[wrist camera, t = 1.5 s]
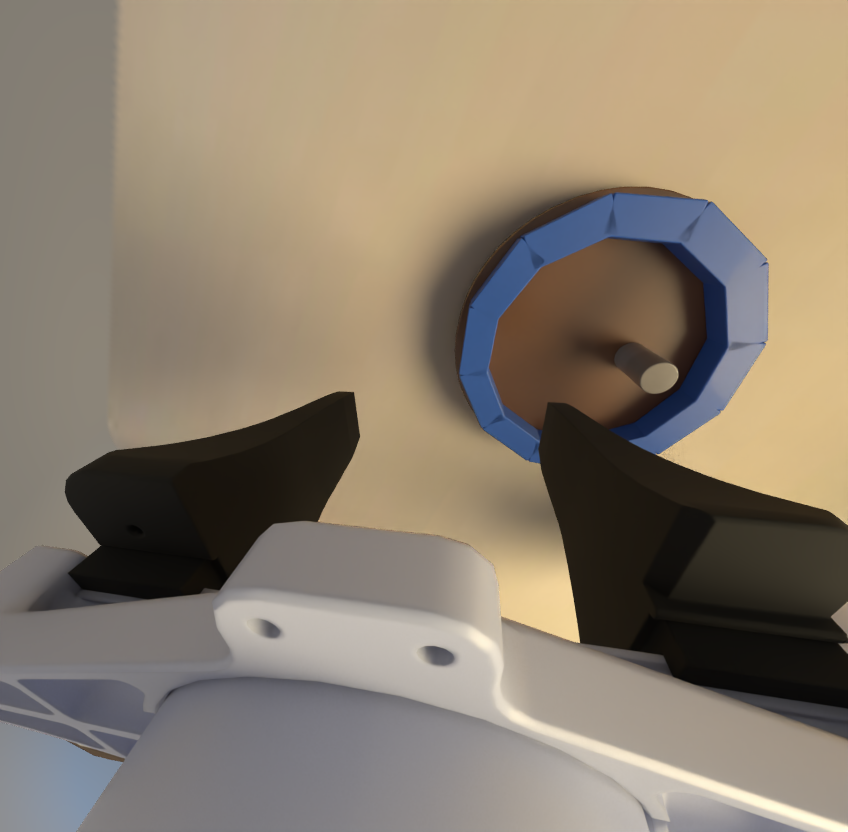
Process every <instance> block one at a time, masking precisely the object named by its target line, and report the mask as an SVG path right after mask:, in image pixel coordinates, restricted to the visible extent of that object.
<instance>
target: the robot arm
mask: <svg viewBox="0 0 848 832" xmlns="http://www.w3.org/2000/svg"><path fill="white" fill-rule="evenodd" d="M359 438H360V433H359V426H358V418H357V411H356V404H355V396H354V392H340V391H339V392H335V393H332V394H329V395H327V396H324V397H322V398H320V399H318V400H315V401H313V402H311V403H309V404H306V405H304V406H302V407H300V408H297V409H295V410H293V411H290V412H288V413H285V414H283V415H280V416H278V417H275V418H273V419H270V420H268V421H265V422H262V423H259V424H256V425H252V426H249V427H246V428H243V429H239V430H235V431H231V432H227V433H223V434H219V435H215V436H211V437H206V438H201V439H196V440H191V441H185V442H179V443H173V444H166V445H159V446H150V447H142V448H133V449H124V450H115V451H112V452H109V453H107V454H105V455H103V456H102V457H100V458H98V459H96V460H95V461H93V462H91V463H89V464H88V465H86V466H84V467H83V468H81V469H79V470H77V471H76V472H74V473H72V474H71V475H70V476H69V477H68V479H67V480H66V486H65V494H66V497H67V501H68V503H69V504H70V506H71V507H72V509H73V510H74V512H75V513H76V515H77V516H78V517H79V519H80V520H81V521H82V522H83V523H84V525H85V526H86V528H87V529H88V530H89V531H90V533H91V534H92V535H93V537H94V538H95V539H96V540H97V541H98V543H99V544H100V545H101V546H100V547H99V548H98V549H97V550H95V551H94V552H93V553H92V554H91V555H89V556H87V555H85V554H83V553H81V552H79V551H76V550H72V549H64V548H57V547H50V546H35V547H34V548H33V549H31V550H30V551H28V552H27V553H25V554H24V555H22V556H21V557H20V558H18V559H17V560H15V561H14V562H12V563H11V564H10V565H8V566H7V567H5V568H4V569H2V570H1V571H0V722H2V723H6V724H10V725H14V726H18V727H21V728H25V729H28V730H32V731H36V732H39V733H43V734H46V735H50V736H53V737H56V738H60V739H63V740H66V741H70V742H73V743H76V744H80V745H83V746H86V747H89V748H92V749H96V750H99V751H102V752H105V753H108V754H112V755H115V756H118V757H121V758H124V759H125V760H124V762H123V764H122V765H121V766H120V768H119V769H118V771H117V772H116V774H115V775H114V777H113V778H112V779H111V781H110V783H109V784H108V785H107V787H106V788H105V790H104V791H103V793H102V794H101V796H100V797H99V799H98V800H97V802H96V803H95V805H94V806H93V808H92V809H91V811H90V812H89V813H88V815H87V817H86V818H85V819H84V821H83V822H82V824H81V825H80V827H79V828H78V830H77V831H76V832H848V525H847V524H845V523H844V522H843V521H841V520H840V519H839V518H837V517H836V516H835V515H833V514H832V513H830V512H829V511H826V510H823V509H819V508H815V507H811V506H807V505H804V504H800V503H796V502H792V501H788V500H785V499H781V498H777V497H773V496H769V495H766V494H762V493H759V492H755V491H752V490H749V489H746V488H742V487H739V486H736V485H733V484H730V483H726V482H723V481H721V480H718V479H715V478H712V477H709V476H706V475H703V474H701V473H698V472H696V471H693V470H690V469H688V468H685V467H683V466H680V465H678V464H675V463H673V462H671V461H668V460H666V459H664V458H662V457H659V456H657V455H655V454H653V453H651V452H649V451H647V450H645V449H643V448H641V447H639V446H637V445H635V444H633V443H631V442H629V441H628V440H626V439H624V438H622V437H621V436H619V435H617V434H615V433H614V432H612V431H610V430H609V429H607V428H605V427H604V426H602V425H601V424H599V423H598V422H596V421H595V420H593V419H591V418H590V417H588V416H587V415H585V414H584V413H582V412H581V411H579V410H578V409H576V408H574V407H573V406H571V405H569V404H567V403H556V402H548V404H547V409H546V414H545V419H544V424H543V428H542V433H541V438H540V443H539V448H538V451H539V458H540V464H541V470H542V474H543V477H544V481H545V484H546V487H547V490H548V493H549V496H550V499H551V502H552V505H553V508H554V511H555V514H556V517H557V520H558V523H559V527H560V531H561V534H562V539H563V544H564V549H565V554H566V559H567V564H568V569H569V575H570V580H571V586H572V591H573V598H574V604H575V610H576V617H577V623H578V630H579V637H580V643H576V642H572V641H569V640H566V639H564V638H561V637H558V636H555V635H552V634H549V633H547V632H544V631H541V630H538V629H535V628H533V627H530V626H527V625H524V624H521V623H518V622H516V621H513V620H510V619H507V618H504V617H501V611H500V596H499V584H498V581H497V577H496V573H495V569H494V565H493V564H492V563H491V562H489V561H488V560H487V559H486V558H485V557H483V556H482V555H481V554H480V553H479V552H477V551H476V550H475V549H474V548H472V547H471V546H470V545H468V544H466V543H462V542H459V541H455V540H452V539H449V538H445V537H442V536H439V535H430V534H421V533H412V532H403V531H393V530H384V529H375V528H366V527H357V526H348V525H339V524H330V523H320V522H318V520H319V518H320V515H321V513H322V511H323V509H324V507H325V505H326V503H327V501H328V499H329V497H330V496H331V494H332V492H333V490H334V489H335V487H336V485H337V483H338V482H339V480H340V478H341V477H342V475H343V473H344V471H345V470H346V468H347V466H348V464H349V462H350V461H351V459H352V457H353V454H354V452H355V449H356V447H357V444H358V441H359Z"/></svg>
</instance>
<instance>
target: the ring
mask: <svg viewBox="0 0 848 832" xmlns="http://www.w3.org/2000/svg"><path fill="white" fill-rule="evenodd" d="M606 238H610V239H621V240H631V241H641V242H652V243H662V244H663V245H664V246H665V247H666V248H668V249H669V250H670V251H671V252H672V253H673V254H674V255H675V256H676V257H677V258H678V259H679V260H680V261H681V262H682V263H683V264H684V265H685V266H686V267H687V268H688V269H689V270H690V271H691V272H692V273H693V274H694V275H695V276H696V277H697V278H698V279H699V280H701V281H702V282H703V288H704V302H705V316H706V330H707V339H706V341H705V343H704V345H703V347H702V349H701V350H700V352H699V354H698V356H697V358H696V360H695V361H694V363H693V365H692V367H691V369H690V371H689V372H688V374H687V376H686V378H685V380H684V382H683V383H682V385H681V387H680V389H679V390H677V391H676V392H675V393H673V394H672V395H671V396H669V397H668V398H667V399H665V400H664V401H663V402H661V403H660V404H659V405H657V406H656V407H655V408H653V409H652V410H651V411H649V412H648V413H647V414H645V415H644V416H643V417H641V418H640V419H639V420H637V421H636V422H635V423H631V424H627V425H624V426H620V427H616V428H612V429H609V430H610V431H612V432H614V433H615V434H617V435H619V436H621V437H622V438H624V439H626V440H628V441H629V442H631V443H633V444H635V445H637V446H639V447H641V448H643V449H645V450H647V451H649V452H651V453H653V454H655V455H656V454H660V453H661V452H663V451H664V450H666V449H667V448H669V447H670V446H672V445H673V444H675V443H676V442H678V441H679V440H681V439H682V438H684V437H685V436H687V435H688V434H690V433H691V432H693V431H694V430H696V429H697V428H699V427H700V426H702V425H703V424H705V423H706V422H708V421H709V420H711V419H712V418H714V417H715V416H717V415H718V414H720V411H719V410H724V409H725V407H726V405H727V404H728V402H729V401H730V399H731V398H732V396H733V395H734V393H735V392H736V390H737V388H738V387H739V385H740V384H741V382H742V381H743V379H744V378H745V376H746V375H747V373H748V371H749V370H750V368H751V367H752V365H753V364H754V362H755V361H756V359H757V358H758V356H759V354H760V353H761V351H762V350H763V348H764V347H765V345H766V343H764V342H766V341H767V340H768V263H767V262H766V261H767V259H766V258H765V256H764V255H763V254H762V253H761V252H760V251H759V250H758V249H757V248H756V247H755V246H754V245H753V244H752V243H751V242H750V241H749V240H748V239H747V238H746V237H745V236H744V234H743V233H742V232H741V231H740V230H739V229H738V228H737V227H736V226H735V225H734V224H733V223H732V222H731V221H730V220H729V219H728V218H727V217H726V216H725V215H724V214H723V213H722V211H721V210H720V209H719V208H718V207H717V206H716V205H715V204H714V203H713V202H708V200H704V199H692V198H680V197H668V196H656V195H644V194H632V193H620V192H616V193H613V194H612V193H610V194H607V195H604V196H602V197H599V198H597V199H595V200H593V201H591V202H589V203H587V204H584V205H582V206H580V207H578V208H576V209H574V210H572V211H570V212H568V213H566V214H564V215H562V216H560V217H558V218H556V219H554V220H552V221H550V222H548V223H546V224H544V225H542V226H540V227H538V228H536V229H534V230H532V231H530V232H527V233H525V234H523V235H521V236H520V238H519V239H517V240H516V241H515V242H514V244H513V245H512V246H511V248H510V249H509V250H508V252H507V253H506V254H505V256H504V257H503V258H502V260H501V261H500V262H499V264H498V265H497V266H496V268H495V269H494V270H493V272H492V273H491V274H490V275H489V277H488V278H487V279H486V281H485V282H484V283H483V285H482V286H481V287H480V289H479V290H478V291H477V293H476V294H475V295H474V297H473V298H472V299H471V303H470V304H469V310H468V316H467V323H466V329H465V336H464V343H463V349H462V356H461V362H460V369H459V374H460V376H459V377H460V380H461V382H462V384H463V387H464V389H465V391H466V394H467V396H468V398H469V401H470V403H471V405H472V408H473V410H474V412H475V414H476V417H477V419H478V421H479V424H480V426H481V428H483V430H484V431H486V432H487V433H489V434H490V435H491V436H493V437H494V438H496V439H497V440H498V441H500V442H501V443H503V444H504V445H505V446H507V447H508V448H510V449H511V450H513V451H514V452H515V453H517V454H518V455H520V456H521V457H522V458H524V459H525V460H529V461H530V462H535V463H540V458H539V451H538V448H539V443H540V438H541V433H542V430H537V429H536V428H534V427H533V426H532V425H530V424H529V423H527V422H526V421H525V420H523V419H522V418H521V417H519V416H518V415H517V414H515V413H514V412H513V411H511V410H510V409H509V408H507V407H506V406H505V405H503V403H502V401H501V398H500V395H499V393H498V390H497V388H496V385H495V382H494V380H493V377H492V374H491V372H490V369H489V364H490V359H491V354H492V349H493V344H494V340H495V335H496V330H497V325H498V320H499V318H500V317H501V315H502V314H503V313H504V312H505V311H506V309H507V308H508V307H509V306H510V304H511V303H512V302H513V301H514V300H515V298H516V297H517V296H518V295H519V294H520V292H521V291H522V290H523V289H524V288H525V286H526V285H527V284H528V283H529V282H530V280H531V279H532V278H533V277H534V276H535V274H536V273H537V272H538V271H539V270H540V268H541V267H544V266H546V265H548V264H550V263H552V262H555V261H557V260H559V259H561V258H564V257H566V256H568V255H570V254H572V253H575V252H577V251H579V250H581V249H584V248H586V247H588V246H590V245H593V244H595V243H597V242H599V241H601V240H604V239H606Z"/></svg>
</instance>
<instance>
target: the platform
mask: <svg viewBox="0 0 848 832" xmlns="http://www.w3.org/2000/svg"><path fill="white" fill-rule="evenodd" d="M616 192H620V193H632V194H644V195H656V196H668V197H680V198H691V197H688V196H685V195H682V194H679V193H677V192H674V191H671V190H665V189H658V188H652V187H619V188H612V189H605V190H599V191H596V192H592V193H589V194H585V195H582V196H578V197H576V198H573V199H571V200H569V201H566V202H564V203H562V204H559V205H557V206H555V207H552V208H550V209H549V210H547V211H545V212H543V213H542V214H540V215H538V216H537V217H535V218H533V219H531V220H530V221H529V222H527V223H526V224H525V225H523V226H522V227H521V228H519V229H518V230H517V231H515V232H514V233H513V234H512V235H511V236H510V237H509V238H508V239H507V240H506V241H505V242H503V243H502V244H501V245H500V246H499V247H498V248H497V250H496V251H495V252H494V253H493V254H492V256H491V257H490V258H489V259H488V260H487V262H486V263H485V264H484V266H483V267H482V269H481V271H480V272H479V274H478V275H477V277H476V278H475V280H474V282H473V284H472V286H471V288H470V290H469V292H468V294H467V296H466V299H465V302H464V305H463V308H462V311H461V314H460V318H459V323H458V328H457V333H456V343H455V359H456V369H457V374H458V379H459V382H460V385H461V388H462V391H463V394H464V396H465V398H466V400H467V402H468V404H469V405H470V407H471V409H472V410H473V408H472V405H471V403H470V401H469V398H468V396H467V394H466V391H465V389H464V387H463V384H462V382H461V380H460V377H459V376H460V374H459V369H460V362H461V356H462V349H463V343H464V336H465V329H466V323H467V316H468V310H469V304H470V303H471V299H472V298H473V297H474V295H475V294H476V293H477V291H478V290H479V289H480V287H481V286H482V285H483V283H484V282H485V281H486V279H487V278H488V277H489V275H490V274H491V273H492V272H493V270H494V269H495V268H496V266H497V265H498V264H499V262H500V261H501V260H502V258H503V257H504V256H505V254H506V253H507V252H508V250H509V249H510V248H511V246H512V245H513V244H514V242H515V241H516V240H517V239H519V238H520V236H521V235H523V234H525V233H527V232H530V231H532V230H534V229H536V228H538V227H540V226H542V225H544V224H546V223H548V222H550V221H552V220H554V219H556V218H558V217H560V216H562V215H564V214H566V213H568V212H570V211H572V210H574V209H576V208H578V207H580V206H582V205H584V204H587V203H589V202H591V201H593V200H595V199H597V198H599V197H602V196H604V195H607V194H610V193H612V194H613V193H616ZM692 199H693V198H692ZM706 339H707V330H706V316H705V302H704V288H703V282H702V281H701V280H699V279H698V278H697V277H696V276H695V275H694V274H693V273H692V272H691V271H690V270H689V269H688V268H687V267H686V266H685V265H684V264H683V263H682V262H681V261H680V260H679V259H678V258H677V257H676V256H675V255H674V254H673V253H672V252H671V251H670V250H669V249H668V248H666V247H665V246H664V245H663V244H662V243H652V242H641V241H631V240H621V239H610V238H606V239H604V240H601V241H599V242H597V243H595V244H593V245H590V246H588V247H586V248H584V249H581V250H579V251H577V252H575V253H572V254H570V255H568V256H566V257H564V258H561V259H559V260H557V261H555V262H552V263H550V264H548V265H546V266H544V267H541V268H540V270H539V271H538V272H537V273H536V274H535V276H534V277H533V278H532V279H531V280H530V282H529V283H528V284H527V285H526V286H525V288H524V289H523V290H522V291H521V292H520V294H519V295H518V296H517V297H516V298H515V300H514V301H513V302H512V303H511V304H510V306H509V307H508V308H507V309H506V311H505V312H504V313H503V314H502V315H501V317H500V318H499V320H498V325H497V330H496V335H495V340H494V344H493V349H492V354H491V359H490V364H489V369H490V372H491V374H492V377H493V380H494V382H495V385H496V388H497V390H498V393H499V395H500V398H501V401H502V403H503V405H505V406H506V407H507V408H509V409H510V410H511V411H513V412H514V413H515V414H517V415H518V416H519V417H521V418H522V419H523V420H525V421H526V422H527V423H529V424H530V425H532V426H533V427H534V428H536V429H537V430H542V428H543V424H544V419H545V414H546V409H547V404H548V402H556V403H567V404H569V405H571V406H573V407H574V408H576V409H578V410H579V411H581V412H582V413H584V414H585V415H587V416H588V417H590V418H591V419H593V420H595V421H596V422H598V423H599V424H601V425H602V426H604V427H605V428H607V429H612V428H616V427H620V426H624V425H627V424H631V423H635V422H636V421H637V420H639V419H640V418H641V417H643V416H644V415H645V414H647V413H648V412H649V411H651V410H652V409H653V408H655V407H656V406H657V405H659V404H660V403H661V402H663V401H664V400H665V399H667V398H668V397H669V396H671V395H672V394H673V393H675V392H676V391H677V390H679V389H680V387H681V385H682V383H683V382H684V380H685V378H686V376H687V374H688V372H689V371H690V369H691V367H692V365H693V363H694V361H695V360H696V358H697V356H698V354H699V352H700V350H701V349H702V347H703V345H704V343H705V341H706ZM473 411H474V410H473ZM474 413H475V412H474Z"/></svg>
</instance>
